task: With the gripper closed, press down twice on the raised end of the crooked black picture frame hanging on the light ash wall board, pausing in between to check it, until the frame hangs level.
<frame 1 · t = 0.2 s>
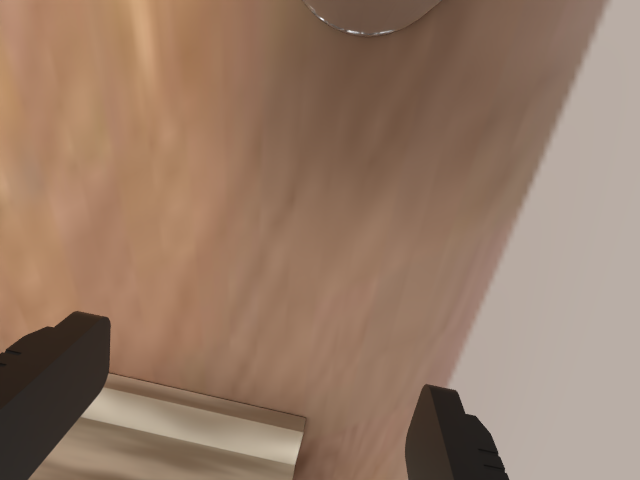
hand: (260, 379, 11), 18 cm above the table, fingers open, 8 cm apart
wall board stand: (162, 459, 37), on the table
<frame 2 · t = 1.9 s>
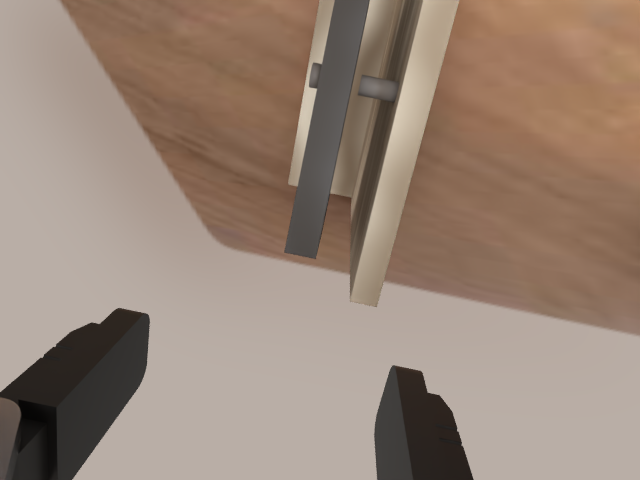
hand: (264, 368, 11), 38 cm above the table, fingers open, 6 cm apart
wall board stand: (345, 86, 44), on the table
picture frame: (331, 105, 28), point 18 cm above the table, hinge at 14.0°
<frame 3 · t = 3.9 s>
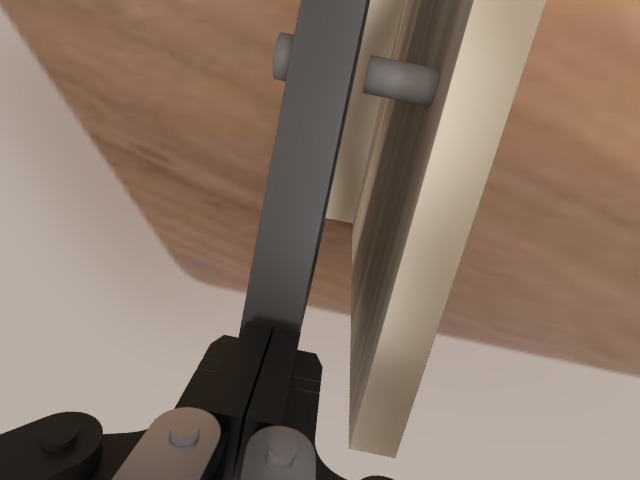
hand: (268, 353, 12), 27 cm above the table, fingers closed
wall board stand: (345, 82, 34), on the table
picture frame: (322, 102, 18), point 18 cm above the table, hinge at 11.4°, touching gripper
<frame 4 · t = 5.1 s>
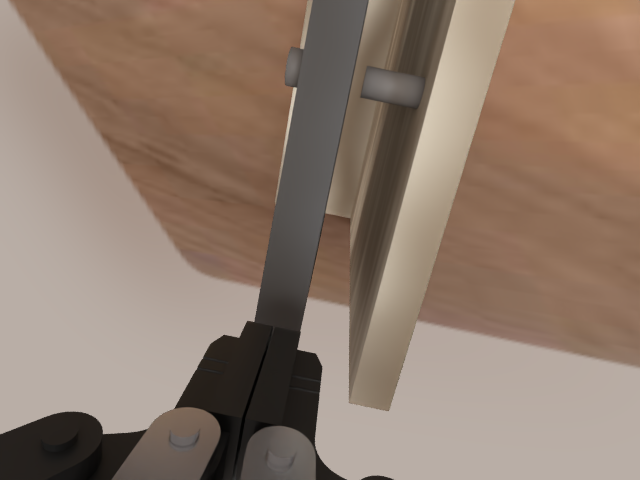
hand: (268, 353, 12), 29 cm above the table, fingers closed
wall board stand: (343, 85, 37), on the table
picture frame: (325, 97, 20), point 18 cm above the table, hinge at 7.9°
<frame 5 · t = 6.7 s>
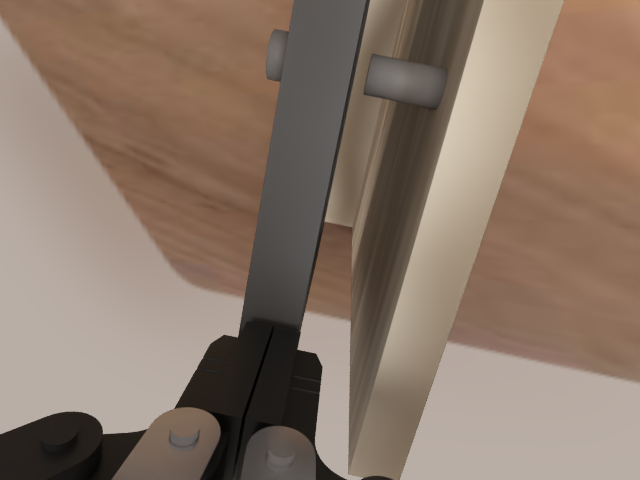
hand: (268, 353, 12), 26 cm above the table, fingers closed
wall board stand: (345, 82, 34), on the table
picture frame: (323, 87, 17), point 18 cm above the table, hinge at 5.1°, touching gripper
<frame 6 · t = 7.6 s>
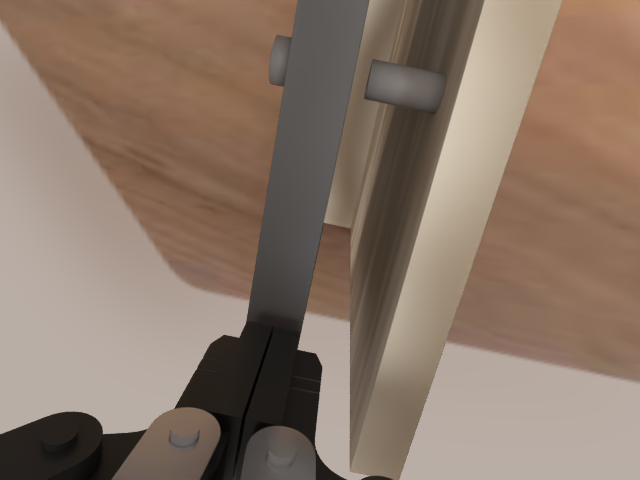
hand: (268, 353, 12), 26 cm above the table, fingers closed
wall board stand: (343, 84, 34), on the table
picture frame: (325, 81, 17), point 18 cm above the table, hinge at 1.8°
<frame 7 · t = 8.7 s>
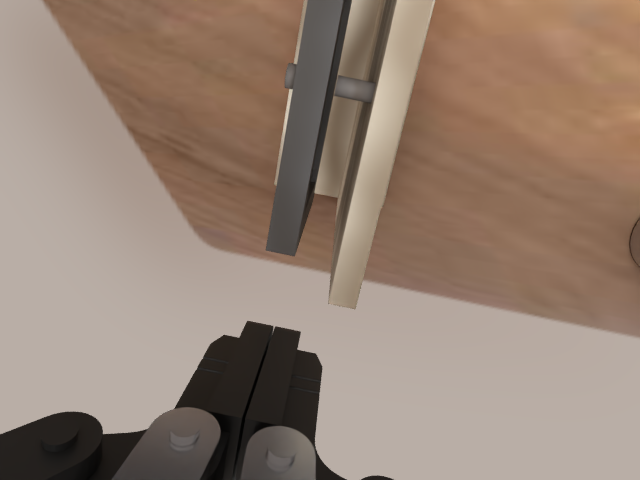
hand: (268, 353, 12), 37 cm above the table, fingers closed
wall board stand: (331, 86, 44), on the table
picture frame: (315, 85, 27), point 18 cm above the table, hinge at 1.8°
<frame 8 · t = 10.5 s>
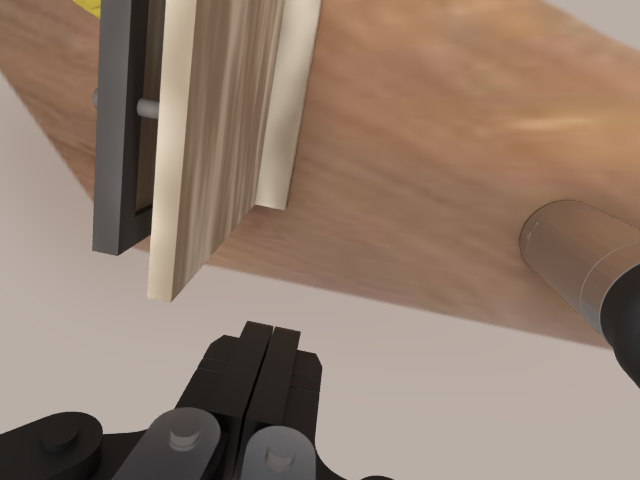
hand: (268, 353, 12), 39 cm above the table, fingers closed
wall board stand: (231, 97, 47), on the table
picture frame: (160, 103, 30), point 18 cm above the table, hinge at 1.8°
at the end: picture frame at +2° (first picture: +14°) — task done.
